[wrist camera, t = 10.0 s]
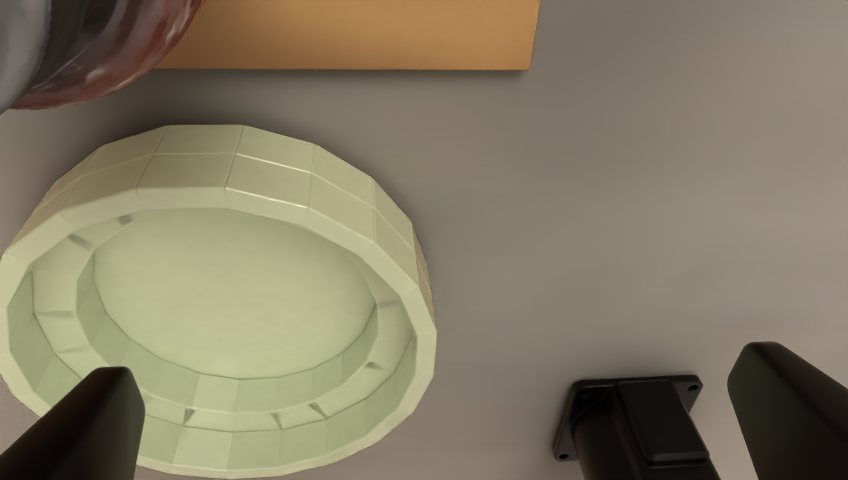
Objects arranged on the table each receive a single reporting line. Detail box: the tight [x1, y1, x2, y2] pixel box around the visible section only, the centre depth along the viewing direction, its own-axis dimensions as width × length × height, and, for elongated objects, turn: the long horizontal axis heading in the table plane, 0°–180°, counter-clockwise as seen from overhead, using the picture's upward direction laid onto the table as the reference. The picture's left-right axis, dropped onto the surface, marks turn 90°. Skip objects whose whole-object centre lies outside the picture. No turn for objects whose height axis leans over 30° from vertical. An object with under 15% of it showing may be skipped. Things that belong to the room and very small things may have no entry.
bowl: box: [0, 125, 437, 479], centre depth 22 cm, size 14×14×4 cm
